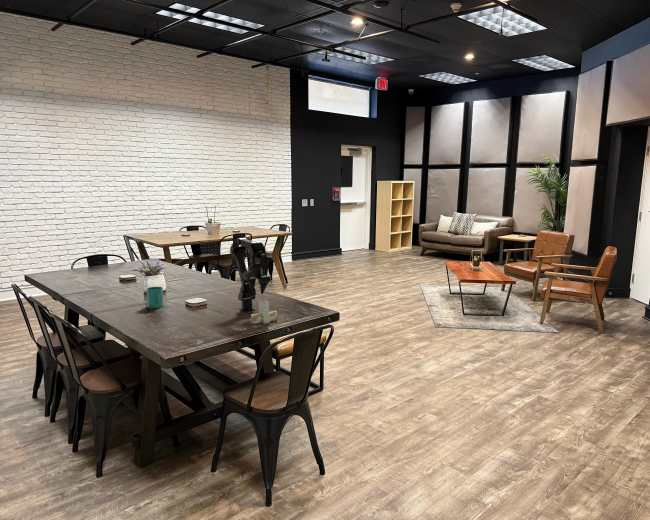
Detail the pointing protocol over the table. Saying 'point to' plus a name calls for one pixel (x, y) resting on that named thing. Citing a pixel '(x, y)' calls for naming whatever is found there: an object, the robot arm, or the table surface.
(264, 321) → the tall green pillar
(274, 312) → the birch rail
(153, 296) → the cup
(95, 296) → the table surface
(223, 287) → the table surface
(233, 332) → the table surface
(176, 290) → the table surface
